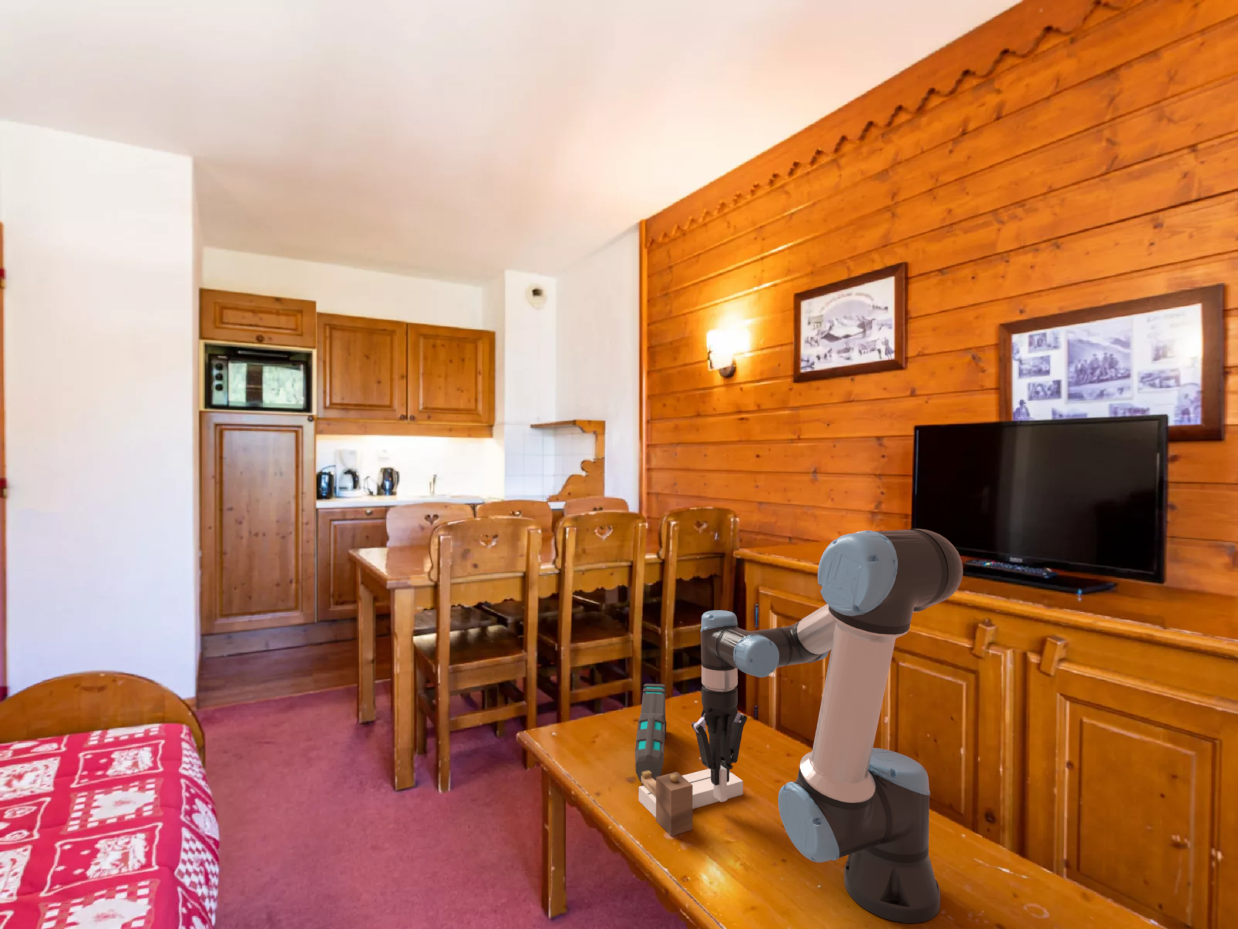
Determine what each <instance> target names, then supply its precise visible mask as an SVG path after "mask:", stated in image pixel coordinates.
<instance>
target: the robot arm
mask: <svg viewBox="0 0 1238 929" xmlns="http://www.w3.org/2000/svg"><path fill="white" fill-rule="evenodd" d="M818 563H819V564H818V569H817V583H818V586H821V590H820V594H821V596H822V599H823V600H824V601H825V603H826V604H824V605H823V606H821V607H820V608H818V609H816V610H815V611H813V612H812V613H810V614H809V615H806V616H805V617H803V618H802V619H800V620H799V621H797V622H796V623H794V624H791V625H788V626H782V627H776V628H775V627H774V628H767V629H758V630H752V631H751V630H746V629H742V628H741V627H739V623H738V618H737V615H736V614H735V612H733V611H731V610H730V611H728V610H722V609H720V610H719V609H718V610H708V611H705V612H703V614H702V615H701V623H700V624H701V626H700V627H701V628H700V632H699V633H700V655H701V656H700V659H701V684H702V686H701V704H702V711H701V714H700V718H699V719H698V721H697V722H696V721H692V722H691V728H692V729H693V730H694V732H695V736H696V740H697V745H698V750H699V754H700V759H701V764H702V765H703V766H704V767H706V769H711V782H712V783H713V785H714V797H715V798H716V799H718V800H719V802H721V803H723V802H726V801H728V799H727V782H729V771H730V770H732V769H733V768H734V766H733V765H732V764H736V763H738V760H739V754H740V753H739V752H740V748H741V744H742V743H741V742H742V737H743V731H744V727H745V725H746V723H747V720H748V716H747V715H745V714H743V713H741V712H739V710H738V706H737V705H738V703H739V702H738V694H739V693H738V690H739V689H738V687H737V686H738V683H739V682H738V679H739V676H738V670H739V671H740V672H743V673H744V674H745V675H747V674H748V675H750V676H752V677H753V676H754V677H756V678H766V677H768V676H770V675H771V674H772V673H773V672H775V671H776V669H777V668H781V667H786V666H787V667H788V666H792V665H799V664H806V663H807V664H811V663H815V662H817V661H821V660H824V659H825V658H827V657H828V654H829V652H830V655H829V660H828V664H827V671H826V676H825V681H824V687H823V692H822V697H821V702H820V709H819V713H818V719H817V725H816V730H815V734H814V735H815V736H814V742H813V746H812V751H810V752H807V753H806V754H805V755H803V756H802V758H801V760H800V763H799V768H798V773H797V777H796V780H795V781H789V782H786V784H784V785H783V786H781V788H780V790H779V792H778V799H777V801H778V802H777V804H778V811H779V816H780V820H781V822H782V824H783V826H784V829H785V830H784V831H785V832H786V834H787V836H788V837H789V840H790V841H791V843H792V844H793V845H794V847H795V848H796V849H797V850H798V852H800V854H801V855H803V856H804V857H805V858H806V859H807V860H810V861H812V862H814V863H824V862H829V861H837V860H838V859H840V858H843V857H846V856H848V857H847V859H846V862H845V864H844V868H843V869H844V870H843V873H844V874H843V875H844V876H843V877H844V878H843V880H844V881H843V883H844V886H845V890H846V892H847V893H848V895H849V896H850V898H852V900H853V901H854V902H856V904H858V905H859V906H860V907H861V908H863V909H864V910H866V911H867V912H869V913H871V914H873V915H875V916H877V917H880V918H882V919H885V920H888V921H891V922H892V921H893V922H897V923H903V924H905V923H906V924H919V923H924V922H927V921H930V920H932V919H934V918H935V917H936V916H937V915H938V913H939V911H940V909H941V889H940V885H939V883H938V881H937V878H936V877H935V876H936V875H935V873H934V869H933V865H932V862H931V859H930V853H929V852H930V851H929V850H930V849H929V845H930V844H929V843H930V795H931V791H930V784H929V781H930V780H929V776H928V772H927V770H926V769H925V767H924V766H923V765H922V764H921V763H920V762H918V761H916V760H914V759H913V758H912V757H910V756H907V755H905V754H901V753H899V752H895V751H893V750H889V749H886V748H885V749H884V748H879V747H874V745H875V740H876V735H877V734H876V733H877V730H878V726H879V720H880V715H881V711H882V705H883V701H884V697H885V691H886V687H887V681H888V677H889V672H890V667H891V662H892V658H893V653H894V648H895V643H896V639H898V638H899V637H903V636H904V635H906V634H908V633H909V631H910V628H911V623H912V619H913V615H914V614H913V613H919V612H922V611H925V610H926V609H928V608H930V607H933V606H935V605H937V604H940V603H941V602H944V601H946V600H948V599H949V598H950V597H951V596H953V595H954V594H955V593H956V591H957V590H958V589H959V587H960V585H961V584H962V583H961V582H962V581H963V575H964V569H963V568H964V566H963V561H962V559H961V556H960V554H959V551H958V550H957V548H956V547H955V546H954V544H952V543H951V542H950V541H949V540H948V539H947V538H946V537H945V536H943V535H941V534H940V533H937V532H934V531H933V530H928V529H923V528H910V529H909V528H908V529H896V530H880V531H879V530H876V531H874V530H861V531H856V532H853V533H847V534H844V535H841V536H838V537H837V538H836V539H834V540H832V541H831V542H830V544H828V545H827V547H826V548H825V550H824V551H823V553H822V555H821V557H820V561H819V562H818ZM706 731H707V732H706Z"/></svg>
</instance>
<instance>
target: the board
mask: <svg viewBox="0 0 1238 929" xmlns="http://www.w3.org/2000/svg"><path fill="white" fill-rule="evenodd" d="M681 776H682V777H684V778H685V779H686V780H687V781H688V782H690V783H691V784H692V785H693V810H694V809H697V808H700V807H705V806H707V805H711V804H714V803H718V802H720V801H719V800H718V799H716V798H715V797H714V785H713V783H712V782H711V769H709V768H706V769H703V770H699V771H696V772H691V773H688V774H682V775H681ZM742 795H744V781H743V780H742V779H741V778H740V777H738V776H736V774H734V773H732V771H730V770H729V782H727V800H728V799H731V798H736V797H739V796H742ZM638 802H640V804H642V806H643V807H645V809H646V810H647V811H649V813H650V814H652V816H653V817H654V818H655V819H656V796H655V795H654V794H653V793H652V792H651V791H650V790H649V789H648V788H647V787H645V786H644V785H640V786H638Z"/></svg>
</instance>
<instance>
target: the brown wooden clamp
mask: <svg viewBox="0 0 1238 929" xmlns="http://www.w3.org/2000/svg"><path fill="white" fill-rule="evenodd" d="M682 776H683V775H681V774H680V773H679V772H677V771H675V772H672V773H667V774H664V775H660V776H659V777H656V781H655V780H654V779H653V778H652V773H651V772H650V771H649V770H648V771H644V772H642V776H641V782H640V783H641V784H642V786H645V787H647V788H648V789H649V790H650V791H651V792H652V793H653V794H654V795H655V796H656V818H655V821H656V823H658V824H659V825H660V826H661V827H662V829H664V830H665V832H666V833H667V834H668V835H669V836H671V837H674V836H677V835H680V834H683V833H686V832H690V831H692V830H693V810H694V809H693V785H692V784H691V783H690V782H688V781H687V780H686V779H685V778H684V777H682Z"/></svg>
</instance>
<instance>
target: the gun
mask: <svg viewBox="0 0 1238 929" xmlns="http://www.w3.org/2000/svg"><path fill="white" fill-rule="evenodd" d="M642 691H643V692H642V698H641V699H642V700H641V707H640V708H641V710H640V714H639V719H638V721H637V722H638V723H637V729H636V730H637V731H636V738H635V748H634V759H635V760H634V762H635V764H634V766H635V774H636V776H637V778H638V780H639V782H640V783H641V776H642V772H644V771H648V770H649V771H650V772H651V773H652V778H653V779H654V780H655V781H656V777H659V776H662V775H661V774H662V772H663V771H662V769H663V767H664V759H665V758H664V757H665V739H667V720H666V717H667V716H666V685H665V684H664V683H645V684H643V690H642Z"/></svg>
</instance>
